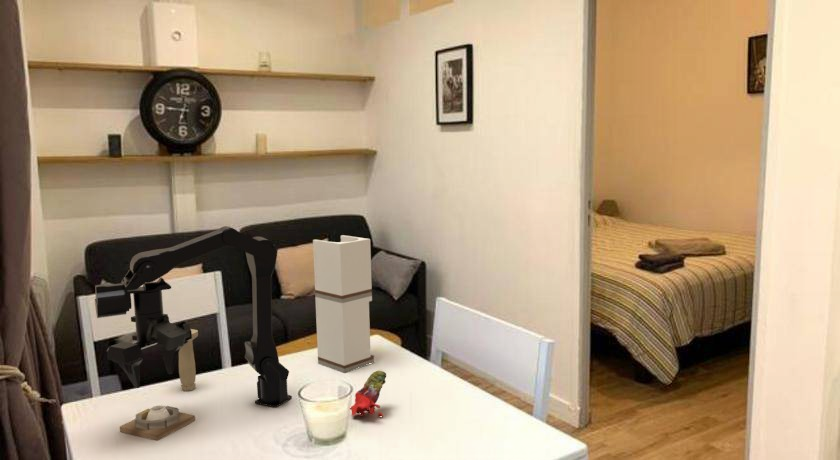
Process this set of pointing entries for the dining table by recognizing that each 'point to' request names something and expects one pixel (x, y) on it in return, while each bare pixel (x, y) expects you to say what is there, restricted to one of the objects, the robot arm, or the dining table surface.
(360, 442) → the dining table surface
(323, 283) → the stacked square vase
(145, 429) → the hub plate
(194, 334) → the handle
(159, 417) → the white jar
